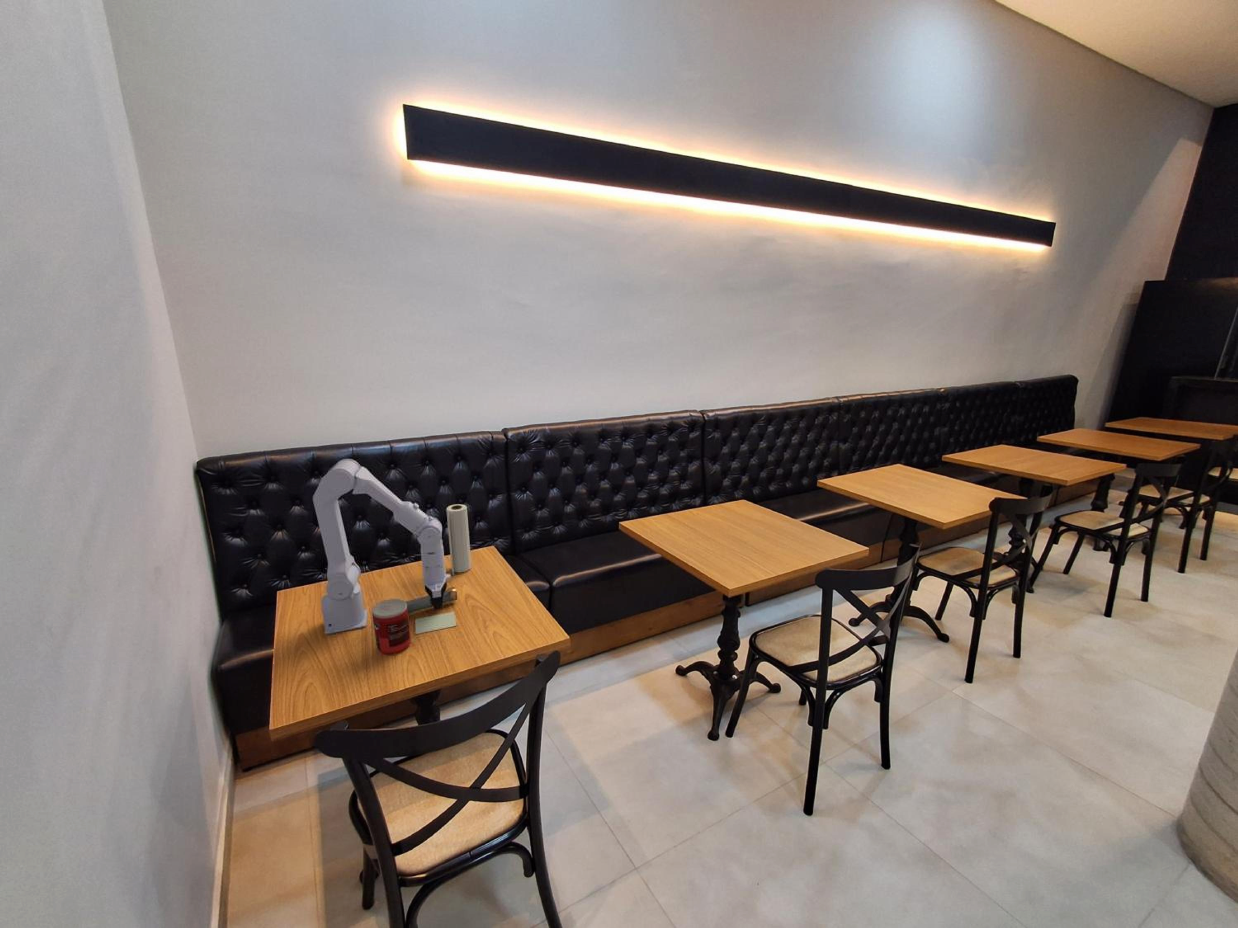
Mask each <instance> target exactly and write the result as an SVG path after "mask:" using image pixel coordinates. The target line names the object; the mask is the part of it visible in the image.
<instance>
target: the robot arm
mask: <svg viewBox="0 0 1238 928" xmlns="http://www.w3.org/2000/svg"><path fill="white" fill-rule="evenodd" d="M352 490H353V491H352ZM350 491H352V493H351V494H353V495H359V494H361V495H362V494H367V496H370V497H371V498H373V499H374V500H375V501H377V502H378V503H380V504H381V505H383V506H384V507H385V508H387V509H388V510H389V511H391V512H392V513H393V519H394V520H395V521H396V522H398V523H399V524H400V525H401V526H403V527H404V528H406V529H407V530H408V531H410V532H411V533H412V534H413V535H416V536H417V538H416V539H417V542H418V543H419V544H420V557H421V564H422V565H421V566H422V568H421V569H422V577H423V579H422V583H423V584H424V590H425V593H426V594H427V596H428V595H429V596H430V598H431V602H432V605H433V607H432V608H433V609H434V610H438V609H440V610H441V609H442V608H443V596H444V592H445V591H446V590H447V589H448V588H447V587H448V585H447V580H448V581H449V580H450V579H451V574H450V573H447V571H446V562H445V554H444V553H445V551H444V545H443V539H442V537H443V535H442V533H443V526H442V523H441V521H440V520H439V519H438V518H436V517H432V516H431V515H427V514H426V513H425V512H423V510H421V509H420V508H419V507H420V506H419V504H418V503H416V502H414V503H412V502H411V501H402V500H401V499H400V498H398V496H397V495H395V494H394V492H392V491H391V490H390V489H389V488H387V487H386V486H385V485H384V484H383V483H382V482H381V481H379V479H377V478H376V477H375V476H374V475H373V474H372V473H371V472H370V471H369V470H368V469H367V468H366V467H364V466H361V465H360V464H359V463H358V461H356V460H354V459H352V458H351V459H350V458H343V459H341V460H339V461H338V462H336V464H334V465H333V466H332V467H331V468H329V470H328V472H327V473H326V474H325V475H324V476H323V477H321V479H320V482H319V484H318V486H317V488H316V490H315V492H314V494H313V495H312V502H313V506H314V509H315V514H316V517H317V523H318V527H319V530H320V534H321V539H322V544H323V547H324V552H325V555H326V558H327V572H326V577H327V583H326V587H325V591H326V595H322V597H321V614H322V619H323V626H324V634H325V635H329V634H335V633H339V632H340V633H341V632H346V631H350V630H355V629H361V628H365V627H366V626H367V622H368V615H369V610H368V609H365V607H364V599H363V592H362V586H361V584H360V583H359V582H358V581H359V579H360V577H361V574H362V571H361V568H360V567H359V565H358V564H357V563H356V561H355V558H354V556H352V555H351V553H350V550H349V549H350V547H349V545H348V541H347V539H348V538H347V535H346V531H345V527H344V522H343V518H342V514H341V509H340V505H339V500H338V499H340V497H342V496H343V495H344V494H347V493H349V492H350ZM451 580H452V579H451Z"/></svg>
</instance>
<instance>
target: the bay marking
mask: <svg viewBox="0 0 1238 928" xmlns="http://www.w3.org/2000/svg"><path fill="white" fill-rule="evenodd" d="M456 621H457V620H456V616H455V611H451V612H445V613H440V614H435V615H430V616H425V617H420V618H415V620H414V622H415V635H420V634H426V633H430V632H434V631H440V630H444V629H450V628H453V627H457V622H456Z"/></svg>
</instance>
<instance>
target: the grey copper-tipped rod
mask: <svg viewBox="0 0 1238 928" xmlns="http://www.w3.org/2000/svg"><path fill="white" fill-rule="evenodd" d="M456 600H458V589H457V587H455V586H452V587H448V588H446V590H445V592H444V596H443V604H448V603H449V602H455V601H456ZM405 602H406V603H407V609H408V615H409V614H413V613H416V612H419V611H420V612H421V611H424V610H426V609H431V608H433V605H432V602H431V598H430V596H429V595H428V594H427V595H425V596H421V597H418V598H414V599H412V600H411V599H410V600H407V601H405Z"/></svg>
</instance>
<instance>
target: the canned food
mask: <svg viewBox="0 0 1238 928" xmlns="http://www.w3.org/2000/svg"><path fill="white" fill-rule="evenodd" d="M406 602H407V601H405V600H404V599H400V598H389V599H386V600H383V601H381V602H378V603H376V604H375V605H374V606H373V607H372V609H371V616H372V617H371V618H372V623H373V629H374V637H375V642H376V643H375V644H376V649H377V650H378V652H379V653H380V654H382V655H385V656H386V655H387V656H391V655H393V656H394V655H398V654H400V653H403V652H404V651H406V650H407V649H408V648H409V647H410V645H411V642H412V636H411V627H410V619H409V618H410V617H409V614H408V609H407V603H406Z"/></svg>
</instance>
